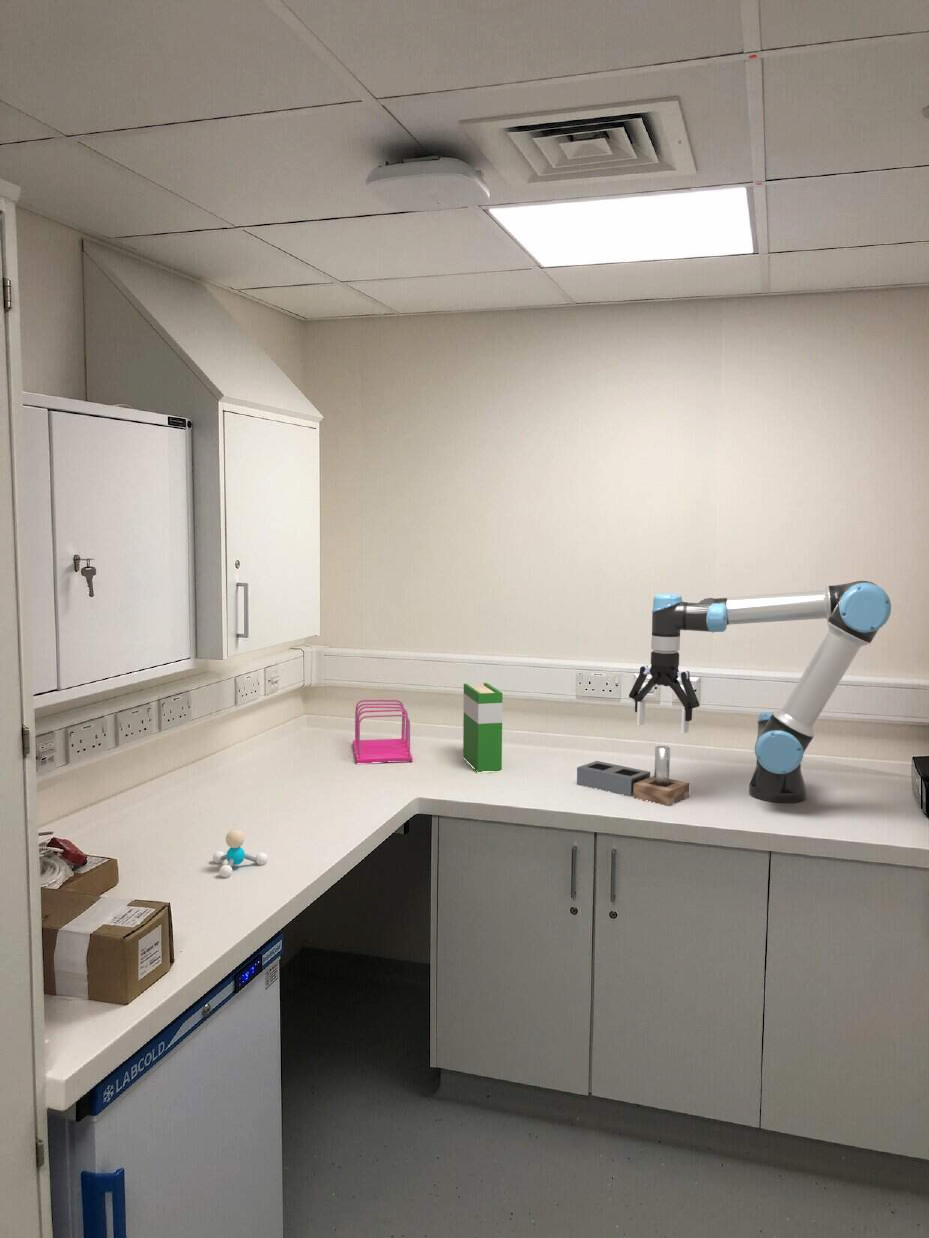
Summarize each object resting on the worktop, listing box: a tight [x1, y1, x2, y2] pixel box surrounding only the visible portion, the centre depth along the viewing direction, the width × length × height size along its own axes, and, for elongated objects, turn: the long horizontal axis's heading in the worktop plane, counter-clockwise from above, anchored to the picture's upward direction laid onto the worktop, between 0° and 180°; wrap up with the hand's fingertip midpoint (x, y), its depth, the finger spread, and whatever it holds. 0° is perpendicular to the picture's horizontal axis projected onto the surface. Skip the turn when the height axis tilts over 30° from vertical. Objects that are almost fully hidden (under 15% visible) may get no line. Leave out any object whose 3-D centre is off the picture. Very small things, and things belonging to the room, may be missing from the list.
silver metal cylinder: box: [653, 745, 671, 787], centre depth 265 cm, size 4×4×14 cm
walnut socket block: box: [632, 775, 691, 807], centre depth 266 cm, size 11×11×4 cm
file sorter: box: [352, 699, 413, 764], centre depth 312 cm, size 17×25×16 cm
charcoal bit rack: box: [576, 760, 651, 798], centre depth 276 cm, size 18×10×5 cm, turn 49°
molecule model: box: [212, 829, 269, 879], centre depth 212 cm, size 12×12×9 cm
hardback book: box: [462, 682, 503, 772], centre depth 298 cm, size 18×7×24 cm, turn 14°
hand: (662, 728), depth 264 cm, fingers open, 13 cm apart
